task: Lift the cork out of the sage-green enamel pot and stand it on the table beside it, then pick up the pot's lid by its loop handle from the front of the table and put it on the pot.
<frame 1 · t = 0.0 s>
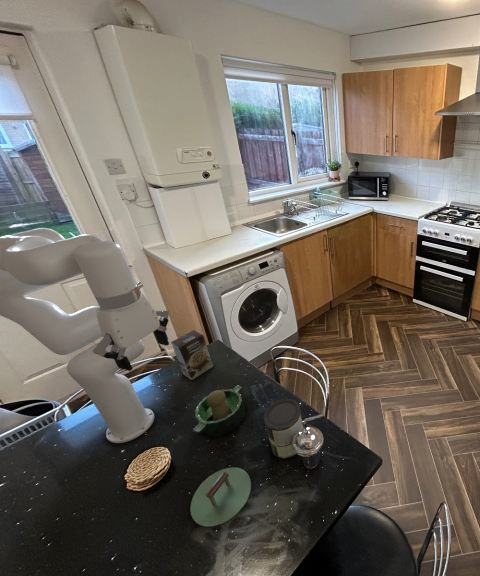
hand: (146, 355, 77), 37 cm above the table, tool pointing down, fingers open, 9 cm apart
pot: (223, 418, 104), on the table
cup with straw: (312, 463, 92), on the table
lid: (222, 495, 83), point 1 cm above the table
coffee box: (198, 370, 124), on the table
cork: (223, 417, 104), resting on pot
coffee can: (288, 444, 97), on the table
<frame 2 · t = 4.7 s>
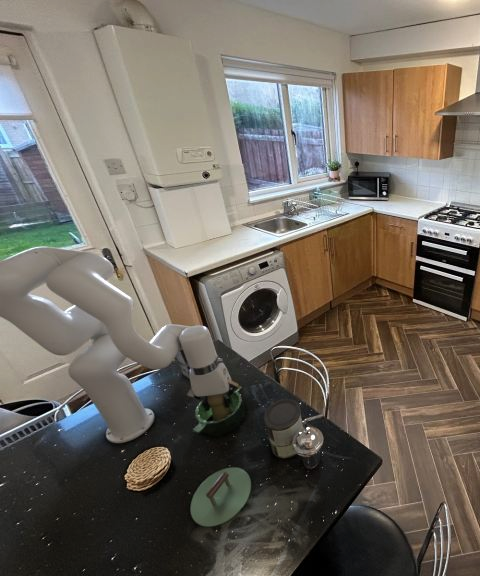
hand: (219, 405, 101), 6 cm above the table, tool pointing down, fingers closed on cork, 5 cm apart
cork: (223, 417, 104), resting on pot, touching gripper
everything else where it was.
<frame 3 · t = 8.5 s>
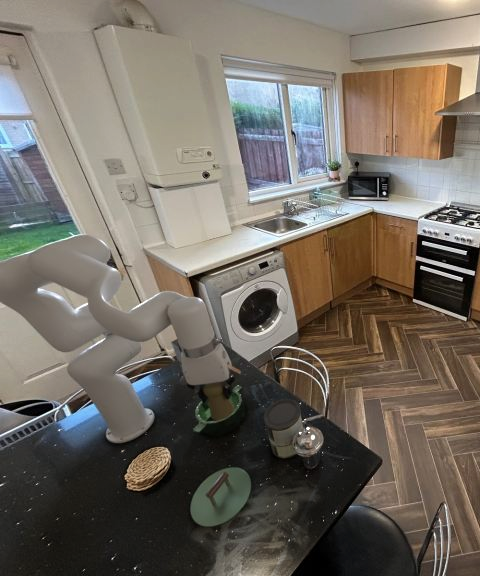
hand: (217, 396, 85), 22 cm above the table, tool pointing down, fingers closed on cork, 5 cm apart
cork: (222, 411, 88), point 16 cm above the table, touching gripper
everything else where it was.
when the fingers open (6 cm above the table, at t = 12.5 s): cork stays where it is, on the table.
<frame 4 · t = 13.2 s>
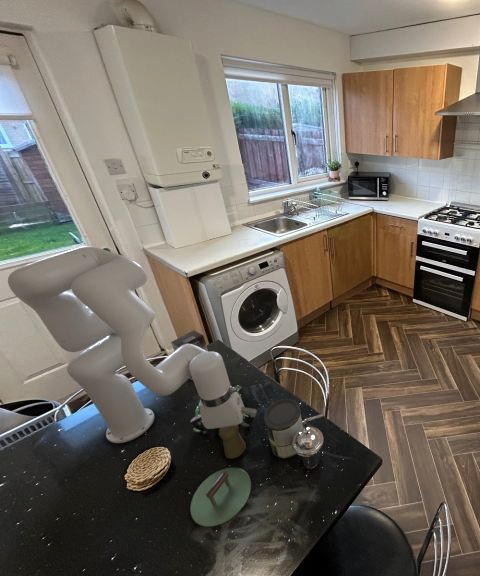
hand: (230, 434, 91), 7 cm above the table, tool pointing down, fingers open, 9 cm apart
cork: (235, 450, 95), on the table
everything else where it was.
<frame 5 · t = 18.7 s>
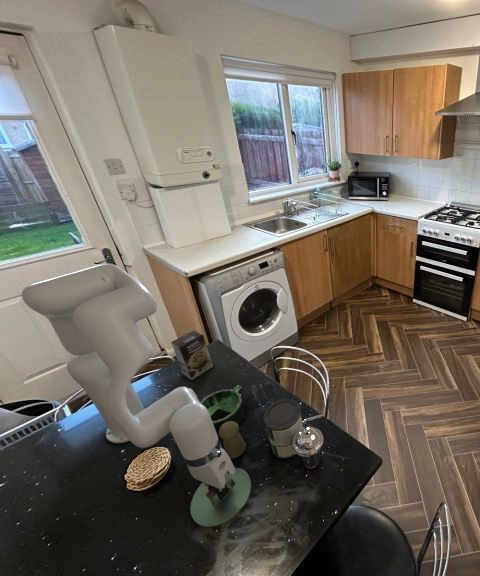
hand: (220, 492, 82), 2 cm above the table, tool pointing down, fingers closed on lid
lid: (222, 495, 83), point 1 cm above the table, touching gripper
everything else where it was.
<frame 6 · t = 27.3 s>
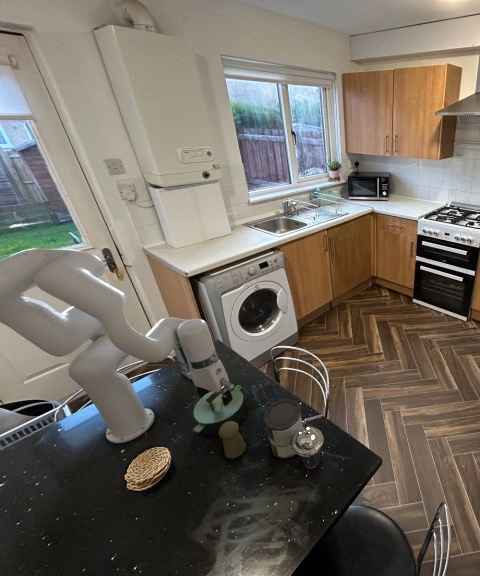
hand: (216, 398, 100), 9 cm above the table, tool pointing down, fingers open, 9 cm apart
lid: (219, 405, 101), point 6 cm above the table, touching pot
everything else where it was.
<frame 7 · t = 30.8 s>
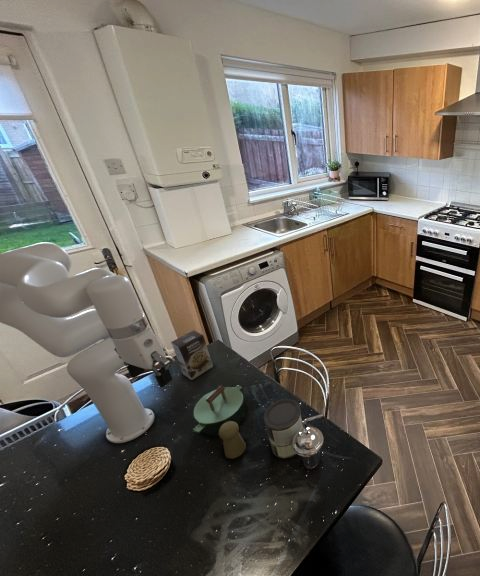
hand: (152, 378, 82), 28 cm above the table, tool pointing down, fingers open, 9 cm apart
nothing on the table moved.
at the end: cork inside the target area (0.0 cm from its centre), on the table; cork tilted 0°; lid 0.1 cm off-centre on the pot, point 6.4 cm above the pot's base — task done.
